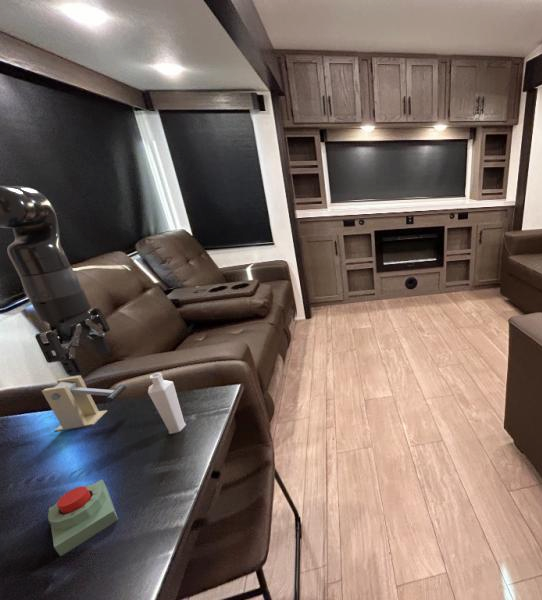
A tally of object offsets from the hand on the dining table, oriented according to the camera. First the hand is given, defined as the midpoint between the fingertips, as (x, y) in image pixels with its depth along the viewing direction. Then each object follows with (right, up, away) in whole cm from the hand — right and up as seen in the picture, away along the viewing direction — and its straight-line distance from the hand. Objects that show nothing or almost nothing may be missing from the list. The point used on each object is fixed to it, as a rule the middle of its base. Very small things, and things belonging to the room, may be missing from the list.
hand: (91, 363), depth 68 cm
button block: (+13, -23, -15) cm, 31 cm away
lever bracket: (-10, -16, +9) cm, 21 cm away
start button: (+13, -20, -16) cm, 29 cm away
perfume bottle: (+16, -16, +4) cm, 23 cm away
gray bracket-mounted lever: (-7, -9, +7) cm, 13 cm away
